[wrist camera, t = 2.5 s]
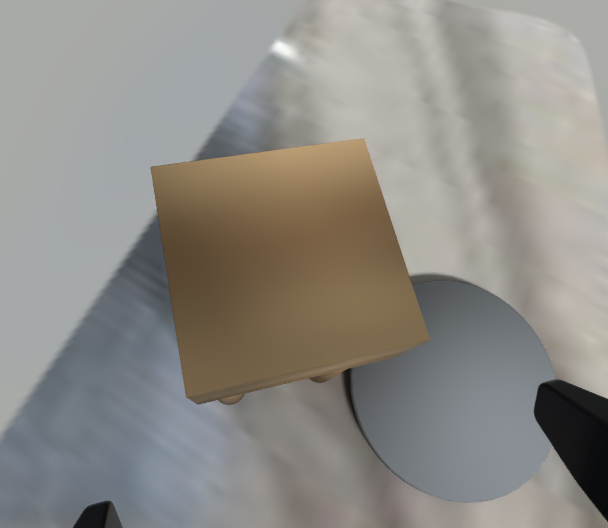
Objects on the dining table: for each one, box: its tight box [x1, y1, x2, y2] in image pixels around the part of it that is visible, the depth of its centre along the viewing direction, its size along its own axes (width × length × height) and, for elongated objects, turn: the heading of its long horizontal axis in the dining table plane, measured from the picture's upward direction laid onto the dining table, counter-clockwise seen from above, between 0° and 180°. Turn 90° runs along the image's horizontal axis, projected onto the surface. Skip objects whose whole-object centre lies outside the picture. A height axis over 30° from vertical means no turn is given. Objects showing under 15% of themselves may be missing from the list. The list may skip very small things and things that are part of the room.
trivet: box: [350, 280, 556, 503], centre depth 21 cm, size 10×10×1 cm
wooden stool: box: [151, 138, 430, 405], centre depth 17 cm, size 6×6×10 cm
